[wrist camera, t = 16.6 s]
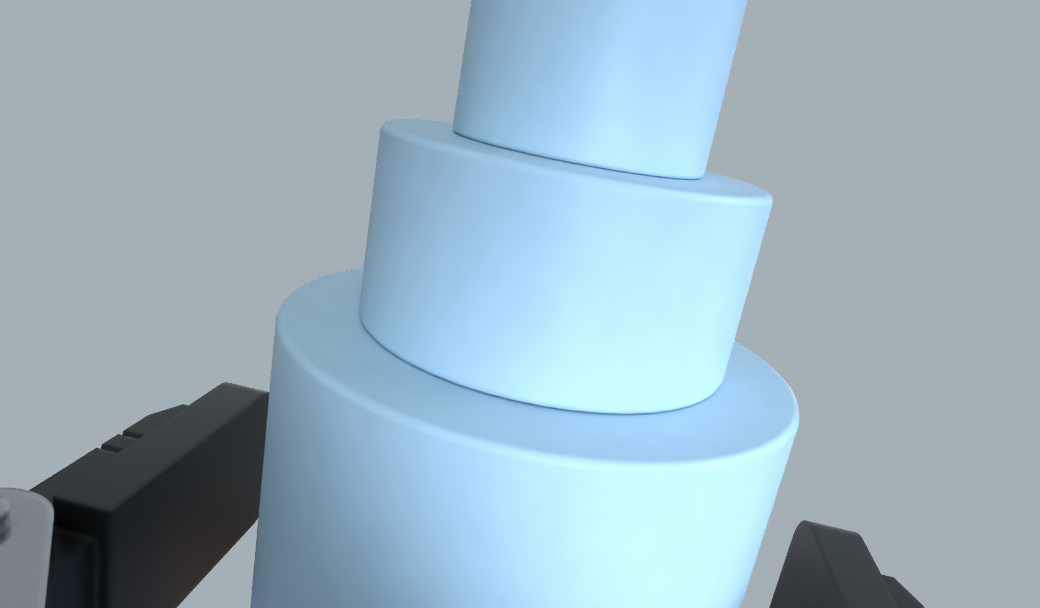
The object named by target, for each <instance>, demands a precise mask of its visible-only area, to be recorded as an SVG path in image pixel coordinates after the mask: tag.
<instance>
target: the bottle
mask: <svg viewBox="0 0 1040 608" xmlns="http://www.w3.org/2000/svg"><path fill="white" fill-rule="evenodd" d="M746 3H747V0H472V1H471V7H470V14H469V20H468V28H467V34H466V41H465V47H464V54H463V62H462V67H461V74H460V81H459V88H458V94H457V102H456V108H455V114H454V121H453V123H450V122H441V121H431V120H419V119H395V120H390V121H386V122H384V123H383V125H382V127H381V130H380V138H379V147H378V155H377V163H376V171H375V179H374V188H373V196H372V204H371V212H370V222H369V229H368V237H367V245H366V255H365V262H364V267H362V268H356V269H351V270H346V271H341V272H336V273H333V274H330V275H326V276H323V277H320V278H318V279H315V280H313V281H311V282H308V283H306V284H304V285H303V286H301V287H300V288H298V289H296V290H295V291H294V292H292V293H291V294H290V295H289V296H288V298H287V299H286V300H285V301H284V302H283V304H282V306H281V308H280V310H279V312H278V315H277V317H276V324H275V336H274V347H273V358H272V370H271V381H270V392H269V403H268V415H267V426H266V438H265V449H264V460H263V472H262V483H261V495H260V506H259V517H258V529H257V540H256V552H255V563H254V574H253V586H252V597H251V608H741V605H742V602H743V598H744V595H745V592H746V589H747V586H748V582H749V579H750V576H751V573H752V570H753V567H754V564H755V561H756V557H757V554H758V551H759V548H760V545H761V542H762V538H763V535H764V532H765V529H766V526H767V523H768V520H769V516H770V513H771V510H772V507H773V504H774V500H775V497H776V494H777V491H778V487H779V485H780V482H781V478H782V475H783V472H784V469H785V466H786V463H787V460H788V456H789V453H790V450H791V447H792V444H793V440H794V437H795V434H796V431H797V428H798V425H799V410H798V403H797V401H796V399H795V396H794V393H793V391H792V390H791V389H790V387H789V385H788V384H787V383H786V381H785V380H784V379H783V378H782V377H781V376H780V375H779V374H778V373H777V372H776V371H775V370H774V369H773V368H772V367H771V366H770V365H769V364H768V363H766V362H765V361H764V360H763V359H761V358H760V357H759V356H757V355H756V354H754V353H753V352H751V351H750V350H748V349H747V348H745V347H744V346H742V345H741V344H739V343H737V342H736V341H734V339H735V335H736V332H737V327H738V324H739V321H740V317H741V314H742V310H743V306H744V303H745V299H746V296H747V292H748V289H749V285H750V281H751V278H752V274H753V270H754V267H755V263H756V260H757V256H758V252H759V249H760V246H761V242H762V238H763V235H764V231H765V228H766V224H767V220H768V217H769V213H770V210H771V206H772V196H771V195H770V194H769V193H767V192H766V191H764V190H763V189H761V188H759V187H756V186H754V185H751V184H748V183H745V182H742V181H740V180H737V179H733V178H730V177H727V176H723V175H719V174H716V173H712V172H708V171H705V168H706V164H707V160H708V156H709V152H710V148H711V144H712V140H713V136H714V132H715V128H716V124H717V120H718V116H719V112H720V108H721V104H722V100H723V96H724V92H725V88H726V84H727V80H728V76H729V72H730V68H731V64H732V60H733V56H734V52H735V48H736V44H737V40H738V35H739V32H740V28H741V24H742V20H743V16H744V12H745V8H746Z"/></svg>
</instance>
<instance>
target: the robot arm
mask: <svg viewBox="0 0 1040 608" xmlns="http://www.w3.org/2000/svg"><path fill="white" fill-rule="evenodd" d="M268 403H269V392H266V391H262V390H257V389H253V388H249V387H245V386H241V385H236V384H232V383H227V382H225V383H222V384H220V385H219V386H217V387H216V388H214V389H213V390H211V391H210V392H208V393H207V394H205V395H204V396H202V397H201V398H199V399H198V400H196V401H195V402H193V403H192V404H190V405H189V406H187V405H179V406H176V407H173V408H170V409H167V410H163V411H160V412H157V413H154V414H150V415H148V416H146V417H145V418H143V419H142V420H140V421H139V422H137V423H135V424H134V425H132V426H131V427H129V428H127V429H126V430H124V431H123V434H122V435H120V434H118V435H116V436H115V437H113V438H112V439H110V440H108V441H107V442H105V443H104V444H102V447H101V449H99V448H96V449H94V450H92V451H91V452H89V453H88V454H86V455H84V456H83V457H81V458H80V459H78V460H77V461H75V462H73V463H72V464H70V465H69V466H67V467H66V468H64V469H62V470H61V471H59V472H57V473H56V474H54V475H53V476H51V477H50V478H48V479H47V480H45V481H43V482H42V483H40V484H38V485H37V486H36V487H34V488H32V489H30V490H29V491H28V490H23V489H16V488H0V608H177V606H178V605H179V604H180V603H181V602H182V601H183V600H184V599H185V598H186V597H187V596H188V595H189V594H190V592H191V591H192V590H193V589H194V588H195V587H196V586H197V585H198V584H199V583H200V582H201V580H202V579H203V578H204V577H205V576H206V575H207V574H208V573H209V572H210V571H211V570H212V568H213V567H214V566H215V565H216V564H217V563H218V562H219V561H220V560H221V559H222V558H223V556H224V555H225V554H226V553H227V552H228V551H229V550H230V549H231V548H232V547H233V546H234V545H235V544H236V542H237V541H238V540H239V539H240V538H241V537H242V536H243V535H244V534H245V533H246V532H247V531H248V529H249V528H250V527H251V526H252V525H253V524H254V523H255V521H256V520H257V519H258V517H259V506H260V495H261V483H262V472H263V460H264V449H265V438H266V426H267V415H268ZM770 608H924V606H923V605H922V604H921V603H920V602H919V601H918V600H917V599H915V597H913V596H912V595H911V594H910V593H909V592H908V591H907V590H906V589H905V588H904V587H903V586H902V585H901V584H900V583H899V582H898V581H897V580H896V579H895V578H893V577H889V576H885V575H881V573H880V571H879V569H878V567H877V566H876V564H875V562H874V560H873V558H872V556H871V554H870V552H869V550H868V548H867V546H866V545H865V543H864V541H863V539H862V537H861V536H860V535H859V534H858V533H856V532H852V531H847V530H843V529H839V528H835V527H830V526H826V525H822V524H818V523H814V522H810V521H802V522H801V523H800V524H799V525H798V526H797V528H796V530H795V532H794V535H793V538H792V541H791V544H790V547H789V550H788V553H787V556H786V559H785V562H784V565H783V568H782V571H781V574H780V577H779V580H778V583H777V586H776V589H775V592H774V595H773V599H772V602H771V604H770Z"/></svg>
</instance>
